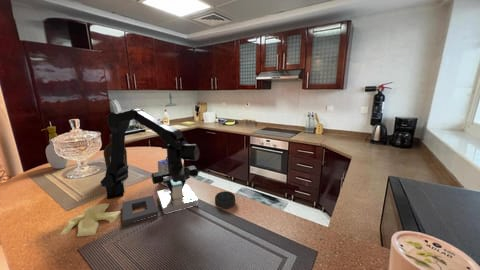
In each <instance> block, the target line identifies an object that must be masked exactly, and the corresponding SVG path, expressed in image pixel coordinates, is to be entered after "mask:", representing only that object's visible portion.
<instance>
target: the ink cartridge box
mask: <svg viewBox="0 0 480 270" xmlns="http://www.w3.org/2000/svg"><path fill="white" fill-rule="evenodd" d="M157 172H162V174H165V173H168V160H167V157H165V159H162V160H158V161H157ZM169 179H170V180H173V179H172V177H169ZM160 184H161V185H163V186H164V187H167V188H169V187H168V185H167V184H166V183H165V184H164V183H163V182H162V183H160Z"/></svg>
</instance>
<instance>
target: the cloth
mask: <svg viewBox="0 0 480 270" xmlns="http://www.w3.org/2000/svg"><path fill="white" fill-rule="evenodd" d="M109 206H110V203H105V202H104V203H100V204H96V205H92V206H89V207H87V208H86V209H85V210H83V212H84V213H83V214H80V215H76V216H74V217H73V218H71V219H69V220H68V222H67V226H66V227H65V228H64V229H63V230H62V231H61V232H60V235H61V236H62V235H63V236H64V235H66V234H68V233H70V232H71V230H72V229H73V228H74V227H75V226H77V234H76V237H88V236H93V235H96V234H97V230H98V228H99V225H100V224H99V221H107V222H109V223H110V224H112V223H115V222H116V221H117V219H118V218H119V216H120V215H121V213H122V210H118V211H109V212H106V211H107V209H108V208H109Z"/></svg>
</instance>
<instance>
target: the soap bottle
mask: <svg viewBox="0 0 480 270" xmlns="http://www.w3.org/2000/svg"><path fill="white" fill-rule="evenodd" d="M56 127H57V126H47V128H43V129H41V130H40V131H41V132H42V131H44V130H46V129H47V131H48V133H49V134H48V137H49V139H48V141H49V144H48V145H47V146H46V148H45V155H46V159H47V160H46V161H47V162H48V164H49V165H50V167H51V168H53V169H56V170H57V169H58V170H59V169H64V168H67V164H68V159H64V158H61V157H59V156H58V155H57V154H56V153H55V151H54V147H53V143H52V142H51V139H52V138H54V137H57V138H58V134H57V133H56Z"/></svg>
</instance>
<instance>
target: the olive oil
mask: <svg viewBox="0 0 480 270" xmlns="http://www.w3.org/2000/svg"><path fill="white" fill-rule="evenodd" d="M111 142H112V133H111V134H110V135H109V143H108V144H107V145H105V148H104V149H103V158H104V162H105V168H106V169H107V168H108V166H109V164H110V163H111ZM124 163H125V165H128V152H127V149H126V146H124ZM128 178H129V172H128V173H127V175H126V176H125V179H124V180H126V179H128Z"/></svg>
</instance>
